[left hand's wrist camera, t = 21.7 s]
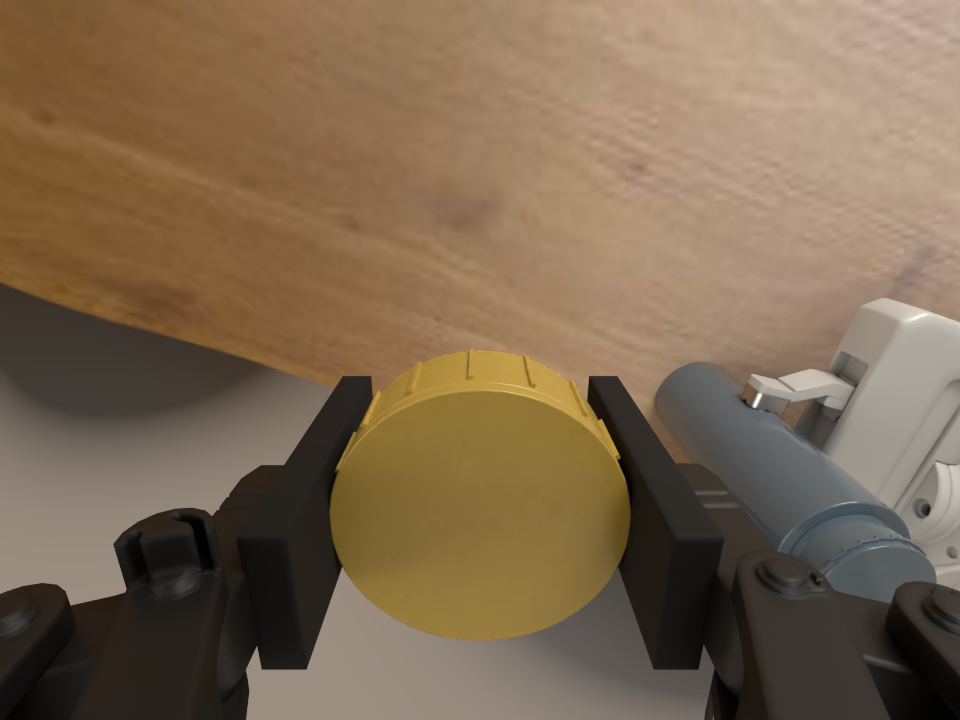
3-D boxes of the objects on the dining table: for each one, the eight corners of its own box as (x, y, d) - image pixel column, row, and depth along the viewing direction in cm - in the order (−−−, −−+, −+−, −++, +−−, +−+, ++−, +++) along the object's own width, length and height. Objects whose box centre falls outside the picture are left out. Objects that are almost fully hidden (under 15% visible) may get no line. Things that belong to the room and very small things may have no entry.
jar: (752, 386, 36) (984, 573, 19) (701, 447, 37) (876, 667, 21) (688, 348, 35) (874, 511, 18) (639, 412, 36) (770, 615, 20)
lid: (346, 555, 13) (321, 627, 11) (360, 330, 11) (333, 366, 9) (578, 582, 13) (596, 656, 11) (635, 367, 11) (668, 410, 9)
